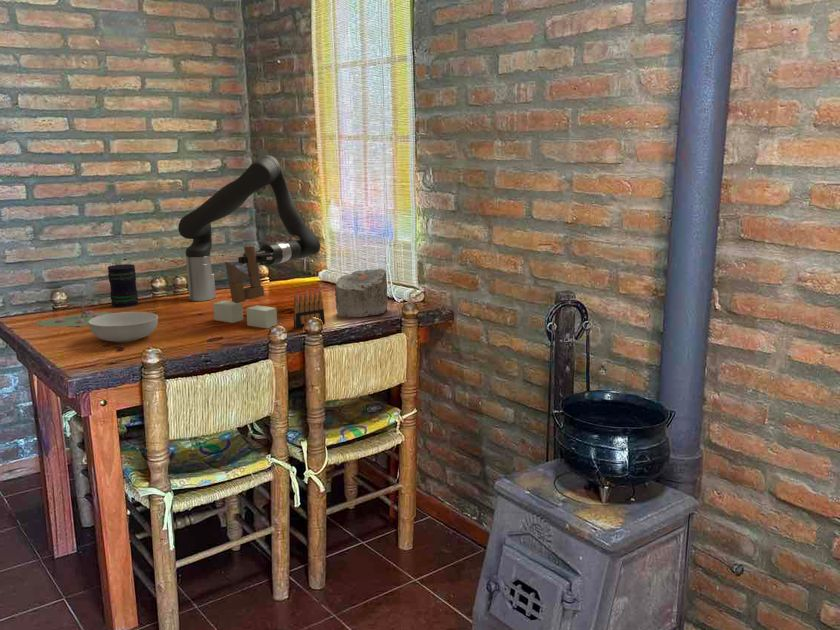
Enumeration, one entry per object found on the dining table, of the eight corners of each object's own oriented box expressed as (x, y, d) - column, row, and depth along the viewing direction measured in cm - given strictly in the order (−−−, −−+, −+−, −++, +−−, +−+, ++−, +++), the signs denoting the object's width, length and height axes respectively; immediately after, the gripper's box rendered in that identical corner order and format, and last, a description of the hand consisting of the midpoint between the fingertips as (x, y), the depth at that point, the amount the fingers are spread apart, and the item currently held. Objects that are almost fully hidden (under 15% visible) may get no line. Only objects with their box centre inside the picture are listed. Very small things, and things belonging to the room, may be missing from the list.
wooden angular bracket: (231, 302, 271) (222, 250, 265) (259, 294, 277) (251, 243, 272) (236, 303, 268) (227, 251, 263) (265, 295, 274) (256, 245, 269)
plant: (38, 333, 266) (34, 306, 264) (32, 321, 283) (29, 296, 281) (116, 323, 278) (114, 298, 276) (106, 312, 296) (104, 288, 293)
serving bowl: (159, 344, 248) (157, 322, 246) (87, 350, 242) (84, 328, 240) (160, 328, 267) (158, 308, 266) (93, 334, 261) (91, 313, 260)
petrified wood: (335, 319, 276) (333, 276, 273) (336, 308, 293) (334, 268, 290) (389, 317, 278) (388, 275, 274) (387, 306, 295) (386, 266, 291)
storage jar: (106, 305, 304) (101, 259, 300) (128, 301, 312) (123, 255, 307) (122, 308, 298) (117, 261, 294) (144, 303, 306) (139, 257, 302)
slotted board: (225, 317, 282) (223, 300, 281) (277, 325, 269) (276, 308, 267) (214, 319, 278) (213, 303, 277) (266, 328, 265) (265, 310, 263)
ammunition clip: (322, 322, 272) (321, 288, 269) (325, 323, 270) (323, 289, 267) (293, 327, 266) (291, 292, 263) (296, 328, 264) (294, 292, 262)
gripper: (261, 241, 285) (225, 248, 271) (289, 243, 278) (253, 250, 264) (262, 262, 286) (227, 270, 272) (290, 265, 279) (255, 273, 265)
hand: (240, 260), depth 268 cm, fingers closed
